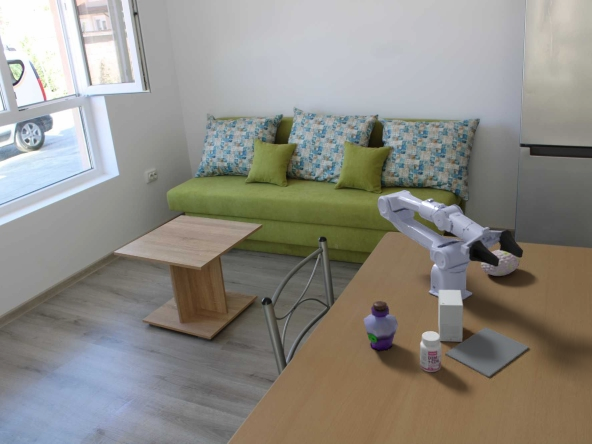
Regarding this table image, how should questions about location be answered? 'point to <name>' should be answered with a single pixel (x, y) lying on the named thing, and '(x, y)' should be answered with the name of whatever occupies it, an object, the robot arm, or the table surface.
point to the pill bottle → (430, 351)
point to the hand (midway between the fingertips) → (509, 258)
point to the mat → (487, 351)
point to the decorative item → (502, 264)
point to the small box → (450, 315)
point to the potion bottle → (380, 326)
